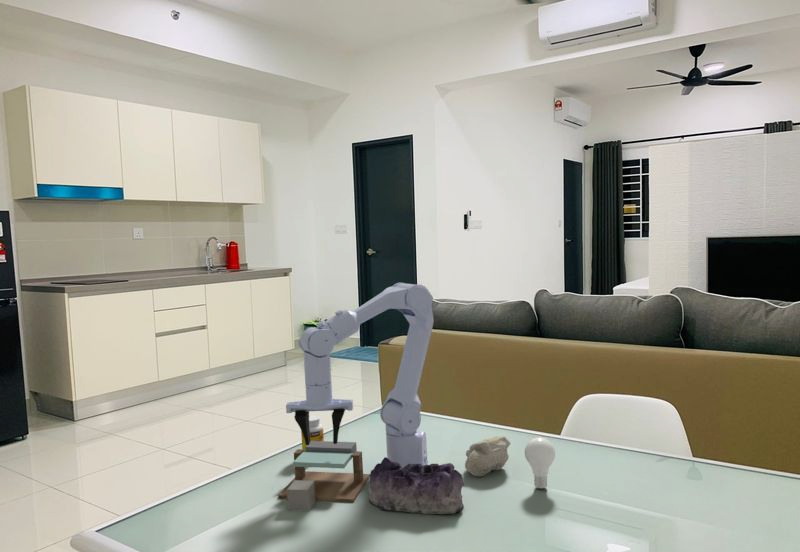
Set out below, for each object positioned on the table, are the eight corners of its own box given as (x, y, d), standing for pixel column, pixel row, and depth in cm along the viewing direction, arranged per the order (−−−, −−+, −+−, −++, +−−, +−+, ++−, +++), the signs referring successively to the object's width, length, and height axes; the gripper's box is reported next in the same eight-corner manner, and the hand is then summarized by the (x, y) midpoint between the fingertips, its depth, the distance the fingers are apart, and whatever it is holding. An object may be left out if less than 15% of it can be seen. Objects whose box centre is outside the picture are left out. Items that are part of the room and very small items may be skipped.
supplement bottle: (311, 463, 146) (308, 423, 145) (298, 458, 150) (296, 418, 149) (329, 456, 150) (327, 417, 149) (316, 451, 154) (314, 413, 153)
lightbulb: (558, 484, 128) (557, 434, 127) (553, 496, 122) (551, 445, 121) (529, 480, 130) (527, 431, 129) (522, 492, 124) (521, 441, 124)
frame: (369, 476, 136) (368, 447, 136) (353, 502, 124) (352, 469, 123) (300, 473, 140) (299, 444, 139) (278, 498, 127) (276, 466, 127)
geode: (362, 518, 117) (359, 467, 117) (374, 500, 128) (371, 453, 129) (464, 518, 113) (461, 465, 114) (467, 499, 125) (464, 451, 125)
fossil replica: (456, 478, 134) (498, 488, 129) (456, 443, 132) (499, 453, 128) (475, 455, 144) (514, 464, 140) (475, 423, 143) (515, 431, 138)
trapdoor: (358, 451, 137) (357, 442, 137) (344, 469, 126) (344, 459, 126) (310, 449, 139) (309, 440, 139) (293, 467, 129) (292, 457, 129)
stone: (315, 501, 125) (314, 480, 125) (309, 511, 121) (308, 489, 120) (295, 500, 126) (294, 480, 125) (288, 510, 121) (286, 489, 121)
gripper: (353, 376, 133) (356, 435, 134) (289, 379, 133) (292, 437, 134) (350, 384, 126) (353, 446, 127) (282, 387, 126) (286, 449, 127)
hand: (321, 442), depth 130 cm, fingers open, 5 cm apart
